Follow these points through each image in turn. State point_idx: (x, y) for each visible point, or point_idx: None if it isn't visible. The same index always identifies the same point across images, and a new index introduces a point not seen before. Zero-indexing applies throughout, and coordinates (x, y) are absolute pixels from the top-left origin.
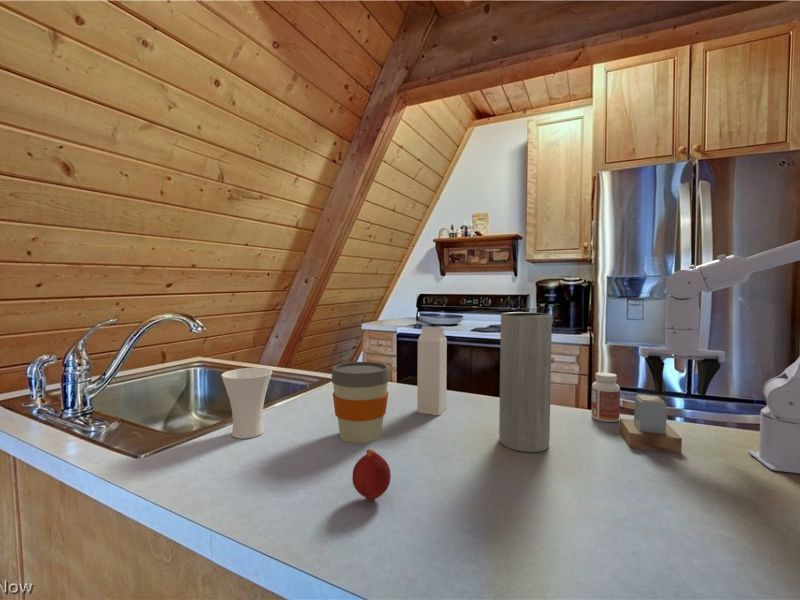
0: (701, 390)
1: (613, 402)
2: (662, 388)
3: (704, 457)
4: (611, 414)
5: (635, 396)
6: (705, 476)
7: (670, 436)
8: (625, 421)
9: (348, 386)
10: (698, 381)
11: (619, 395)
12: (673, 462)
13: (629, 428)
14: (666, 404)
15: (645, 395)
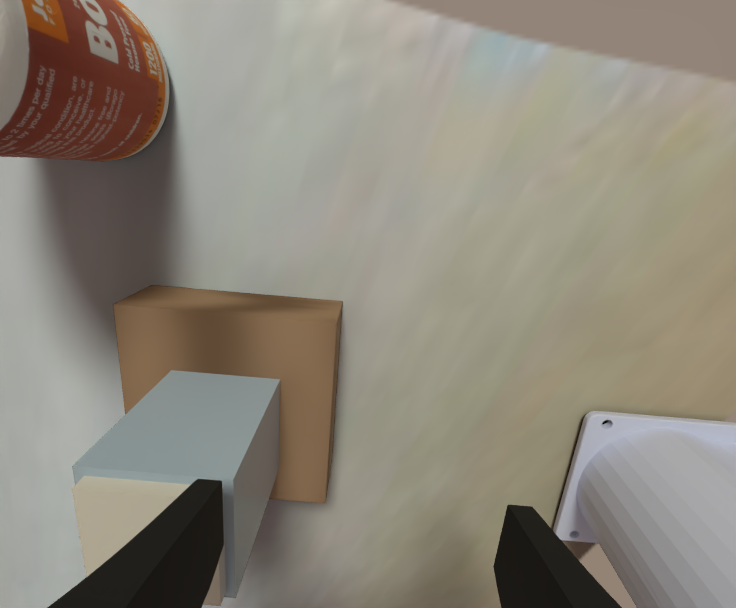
0: (507, 600)
1: (48, 153)
2: (208, 588)
3: (398, 474)
4: (95, 159)
5: (75, 472)
6: (332, 590)
7: (286, 493)
8: (135, 347)
9: None
10: (554, 601)
11: (56, 97)
12: (278, 527)
13: None
14: (234, 596)
15: (129, 500)
